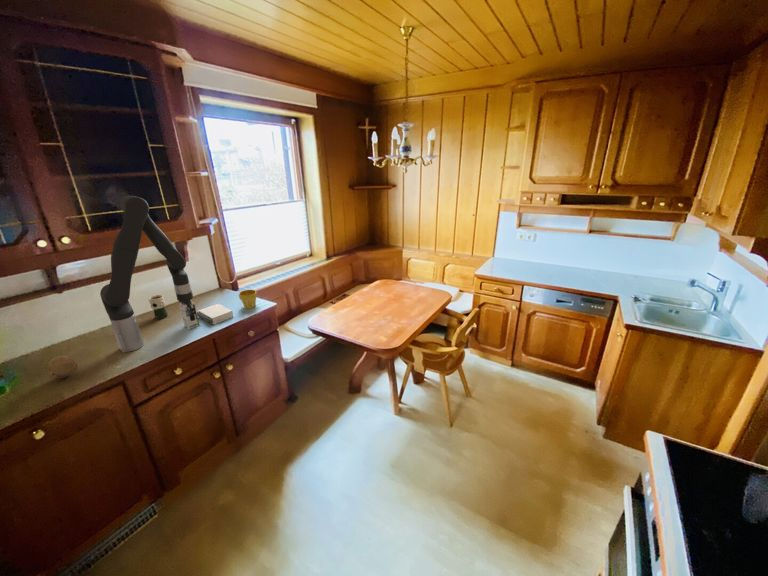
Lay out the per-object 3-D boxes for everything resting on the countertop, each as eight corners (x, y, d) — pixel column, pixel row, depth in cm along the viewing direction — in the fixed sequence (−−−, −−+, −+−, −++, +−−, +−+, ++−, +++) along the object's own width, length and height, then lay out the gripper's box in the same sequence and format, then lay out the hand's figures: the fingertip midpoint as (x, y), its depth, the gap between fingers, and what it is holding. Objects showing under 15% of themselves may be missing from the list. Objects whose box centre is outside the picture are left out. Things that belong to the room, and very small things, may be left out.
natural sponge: (86, 369, 140) (78, 350, 137) (71, 382, 132) (62, 362, 128) (63, 370, 139) (55, 351, 135) (46, 384, 131) (37, 364, 127)
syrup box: (189, 329, 174) (183, 305, 168) (184, 326, 177) (178, 302, 172) (199, 325, 178) (194, 302, 173) (195, 322, 182) (189, 299, 176)
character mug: (149, 317, 186) (143, 297, 181) (161, 312, 192) (155, 293, 187) (162, 321, 182) (156, 301, 177) (173, 316, 188) (168, 296, 183)
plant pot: (248, 311, 195) (245, 297, 191) (237, 307, 200) (235, 293, 196) (261, 305, 203) (259, 291, 199) (251, 301, 208) (249, 288, 204)
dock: (211, 325, 179) (210, 319, 177) (197, 317, 187) (196, 311, 186) (233, 316, 188) (232, 310, 187) (219, 309, 197) (218, 303, 196)
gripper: (170, 290, 171) (177, 317, 177) (182, 296, 163) (189, 325, 169) (184, 285, 176) (191, 312, 183) (197, 292, 169) (203, 319, 175)
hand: (190, 318), depth 176 cm, fingers closed on syrup box, 6 cm apart
